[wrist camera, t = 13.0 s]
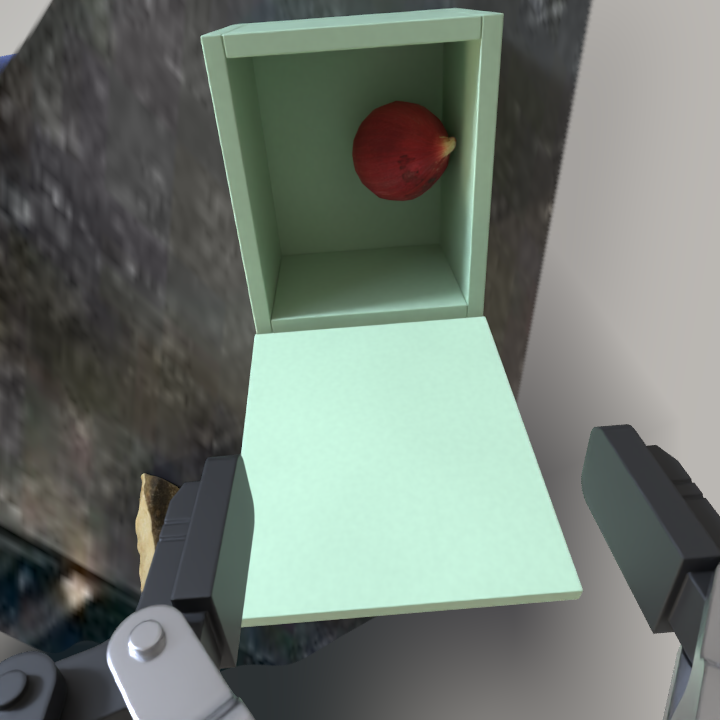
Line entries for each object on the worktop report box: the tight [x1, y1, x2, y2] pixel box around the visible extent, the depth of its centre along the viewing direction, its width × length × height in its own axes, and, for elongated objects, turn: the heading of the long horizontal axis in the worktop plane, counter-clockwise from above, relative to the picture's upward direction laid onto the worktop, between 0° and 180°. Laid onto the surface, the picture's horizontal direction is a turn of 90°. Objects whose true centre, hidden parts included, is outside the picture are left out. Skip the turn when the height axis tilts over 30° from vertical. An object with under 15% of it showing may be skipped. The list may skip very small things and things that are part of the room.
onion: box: [352, 101, 457, 201], centre depth 35 cm, size 6×6×8 cm
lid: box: [241, 317, 583, 627], centre depth 28 cm, size 17×14×1 cm
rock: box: [136, 473, 179, 592], centre depth 56 cm, size 11×9×10 cm
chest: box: [201, 8, 504, 334], centre depth 35 cm, size 16×14×11 cm
